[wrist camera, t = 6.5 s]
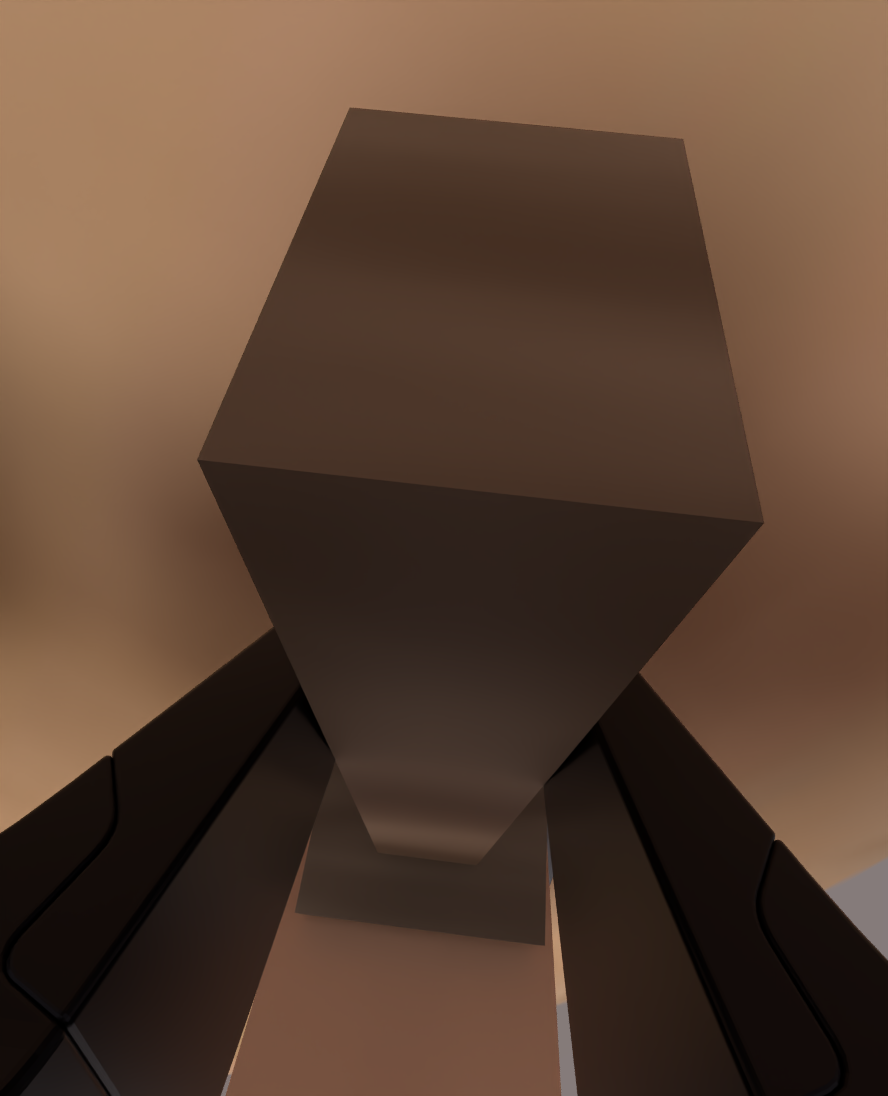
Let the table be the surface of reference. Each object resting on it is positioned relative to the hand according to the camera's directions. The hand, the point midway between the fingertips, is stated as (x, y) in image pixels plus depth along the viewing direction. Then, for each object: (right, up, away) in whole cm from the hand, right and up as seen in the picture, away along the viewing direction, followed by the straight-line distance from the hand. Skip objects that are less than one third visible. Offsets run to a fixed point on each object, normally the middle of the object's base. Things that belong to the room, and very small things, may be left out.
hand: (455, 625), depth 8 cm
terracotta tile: (-1, -7, +12) cm, 14 cm away
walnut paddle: (0, 0, +3) cm, 3 cm away
